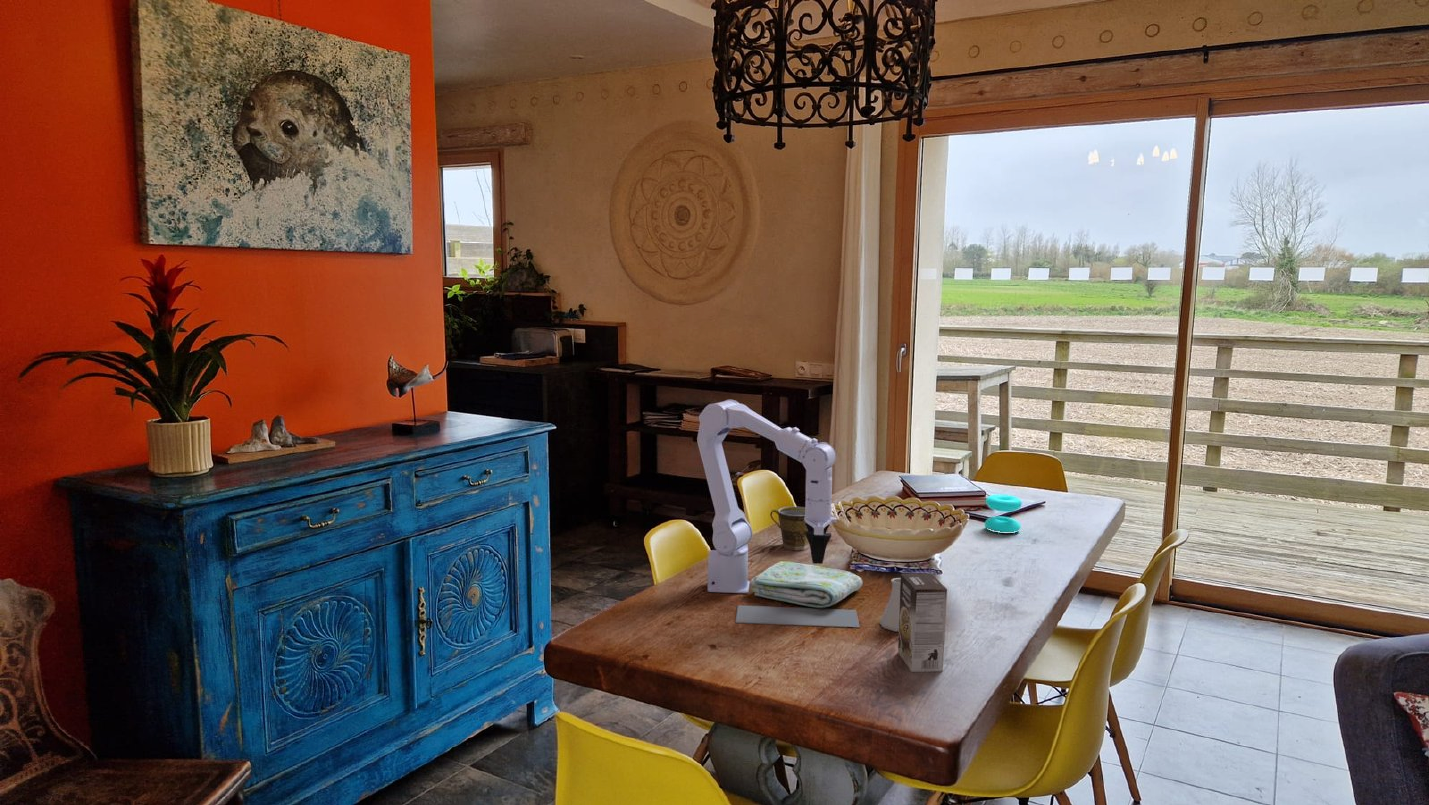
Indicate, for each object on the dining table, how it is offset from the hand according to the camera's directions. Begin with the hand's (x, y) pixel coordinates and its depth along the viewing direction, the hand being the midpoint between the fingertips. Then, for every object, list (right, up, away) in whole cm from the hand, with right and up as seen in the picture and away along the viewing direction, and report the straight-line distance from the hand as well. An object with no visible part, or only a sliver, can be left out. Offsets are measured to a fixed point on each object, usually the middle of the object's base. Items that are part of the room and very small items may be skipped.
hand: (817, 558), depth 201 cm
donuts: (+62, -3, +63) cm, 88 cm away
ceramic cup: (-2, -5, +45) cm, 46 cm away
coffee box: (+16, -15, -30) cm, 37 cm away
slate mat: (-5, -11, -7) cm, 14 cm away
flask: (+16, -13, -12) cm, 23 cm away
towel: (-2, -10, +7) cm, 12 cm away
